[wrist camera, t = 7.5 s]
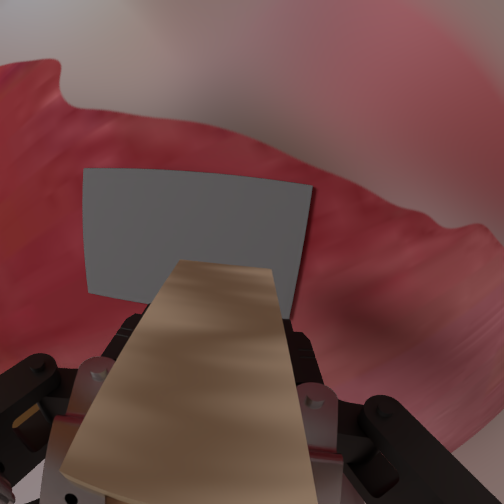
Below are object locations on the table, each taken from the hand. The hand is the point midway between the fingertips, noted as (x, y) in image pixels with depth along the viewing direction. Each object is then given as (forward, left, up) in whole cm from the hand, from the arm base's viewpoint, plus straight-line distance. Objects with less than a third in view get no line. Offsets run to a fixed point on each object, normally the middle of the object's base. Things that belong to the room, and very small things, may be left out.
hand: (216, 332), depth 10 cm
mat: (+4, 0, -11) cm, 12 cm away
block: (0, 0, -2) cm, 2 cm away
